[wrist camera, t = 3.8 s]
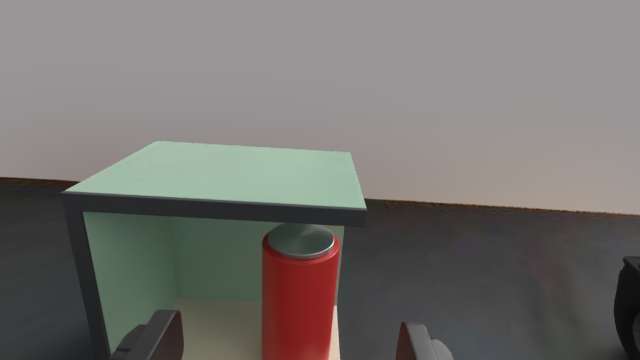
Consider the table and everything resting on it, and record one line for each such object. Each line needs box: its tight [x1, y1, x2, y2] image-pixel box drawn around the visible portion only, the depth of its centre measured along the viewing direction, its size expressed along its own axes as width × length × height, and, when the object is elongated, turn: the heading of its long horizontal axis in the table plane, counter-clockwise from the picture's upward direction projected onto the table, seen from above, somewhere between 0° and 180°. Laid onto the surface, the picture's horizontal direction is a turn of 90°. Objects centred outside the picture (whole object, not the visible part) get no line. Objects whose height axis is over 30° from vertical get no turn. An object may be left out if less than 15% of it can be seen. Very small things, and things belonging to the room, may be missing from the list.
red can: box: [262, 223, 340, 360], centre depth 26 cm, size 5×5×10 cm
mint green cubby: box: [60, 141, 367, 360], centre depth 26 cm, size 11×16×16 cm
